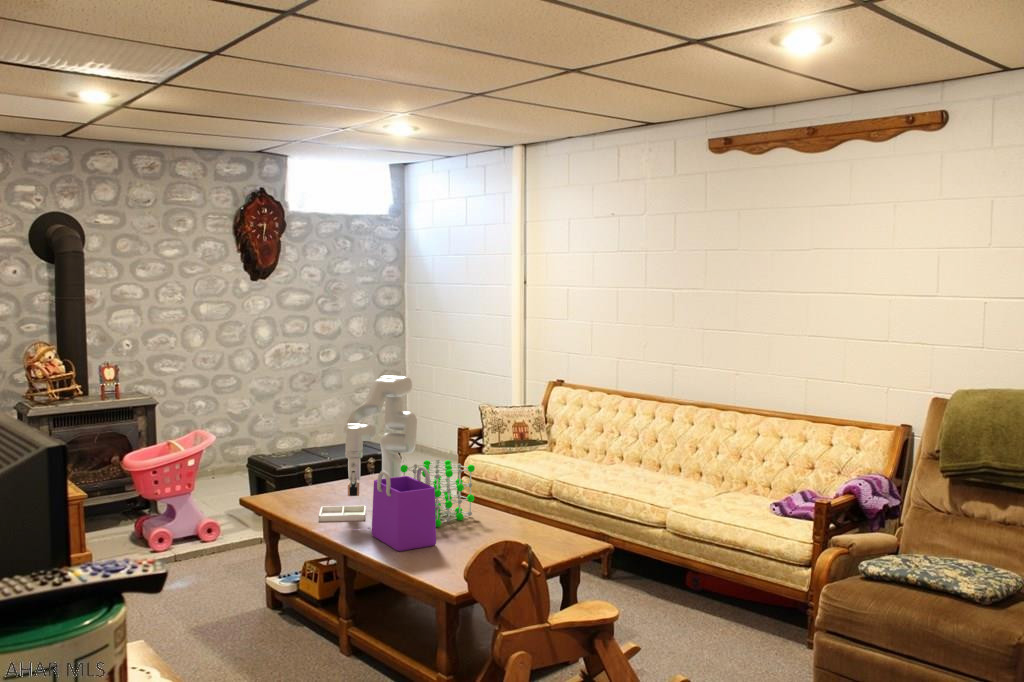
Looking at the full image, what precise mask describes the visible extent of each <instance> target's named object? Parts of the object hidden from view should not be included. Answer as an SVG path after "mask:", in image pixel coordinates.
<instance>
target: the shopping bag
mask: <svg viewBox="0 0 1024 682" xmlns="http://www.w3.org/2000/svg"><path fill="white" fill-rule="evenodd" d="M416 470H417V473H416V479H417V480H416V479H414V477H411V476H409V475H408V476H407V475H405V476H404V475H401V477H393V478H390V477H389V474H388V473H387V472H386V471H382V470H380V472H379V474H378V476H377V479H374V480H373V491H372V493H373V495H372V514H371V536H372V537H374V538H376V539H377V540H378V541H380V542H382V543H384V544H385V545H387V546H388V547H390V548H392V549H393V550H394V551H397V552H403V551H405V552H406V551H411V550H414V549H415V550H416V549H421V548H422V549H423V548H427V547H432V546H435V545H436V544H437V527H436V516H435V500H436V499H435V488H434V487H433V486H432V485H430V484H431V482H430V479H431V475H429V472H430V471H429V472H428V470H427V469H426V468H425V467H423V466H419V468H417V469H416ZM422 470H423V471H424V473H425V476H426V484H425V482H421V479H422V477H421V474H422V473H421V472H423V471H422ZM383 475H384V476H385V479H382V476H383Z"/></svg>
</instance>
